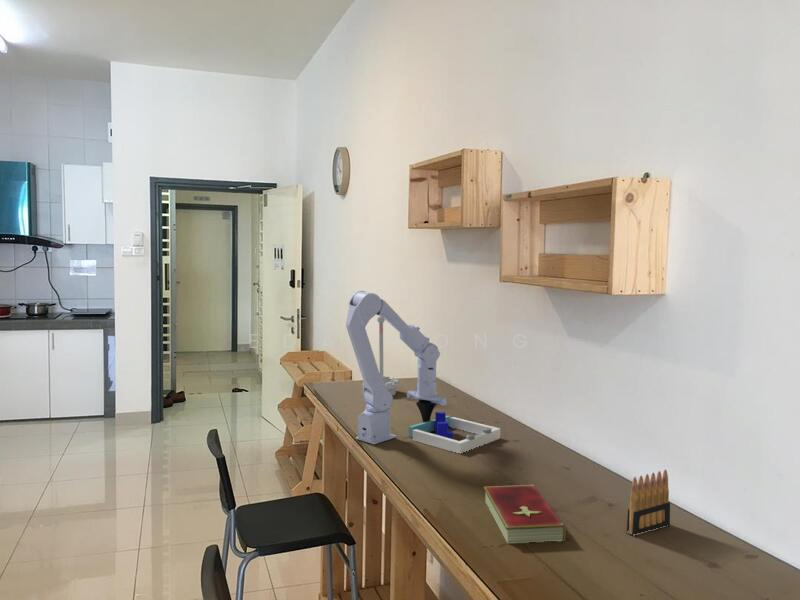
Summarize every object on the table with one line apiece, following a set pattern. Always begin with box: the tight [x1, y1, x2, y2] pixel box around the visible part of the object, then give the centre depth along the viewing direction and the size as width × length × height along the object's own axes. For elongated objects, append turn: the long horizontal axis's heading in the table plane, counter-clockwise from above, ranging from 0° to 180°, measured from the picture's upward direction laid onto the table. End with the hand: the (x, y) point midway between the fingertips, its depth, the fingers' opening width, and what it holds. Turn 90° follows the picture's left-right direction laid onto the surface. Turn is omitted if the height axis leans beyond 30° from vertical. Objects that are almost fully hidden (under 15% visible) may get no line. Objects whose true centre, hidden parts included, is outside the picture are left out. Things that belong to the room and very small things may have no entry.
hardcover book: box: [483, 484, 567, 545], centre depth 140 cm, size 12×21×4 cm, turn 5°
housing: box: [412, 416, 501, 455], centre depth 194 cm, size 19×18×4 cm
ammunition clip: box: [626, 469, 671, 534], centre depth 135 cm, size 11×2×12 cm, turn 118°
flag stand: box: [376, 315, 399, 396], centre depth 248 cm, size 13×13×30 cm
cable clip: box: [434, 411, 454, 440], centre depth 197 cm, size 12×4×6 cm, turn 0°
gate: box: [408, 415, 451, 438], centre depth 201 cm, size 17×1×3 cm, turn 133°
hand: (426, 424), depth 202 cm, fingers closed
